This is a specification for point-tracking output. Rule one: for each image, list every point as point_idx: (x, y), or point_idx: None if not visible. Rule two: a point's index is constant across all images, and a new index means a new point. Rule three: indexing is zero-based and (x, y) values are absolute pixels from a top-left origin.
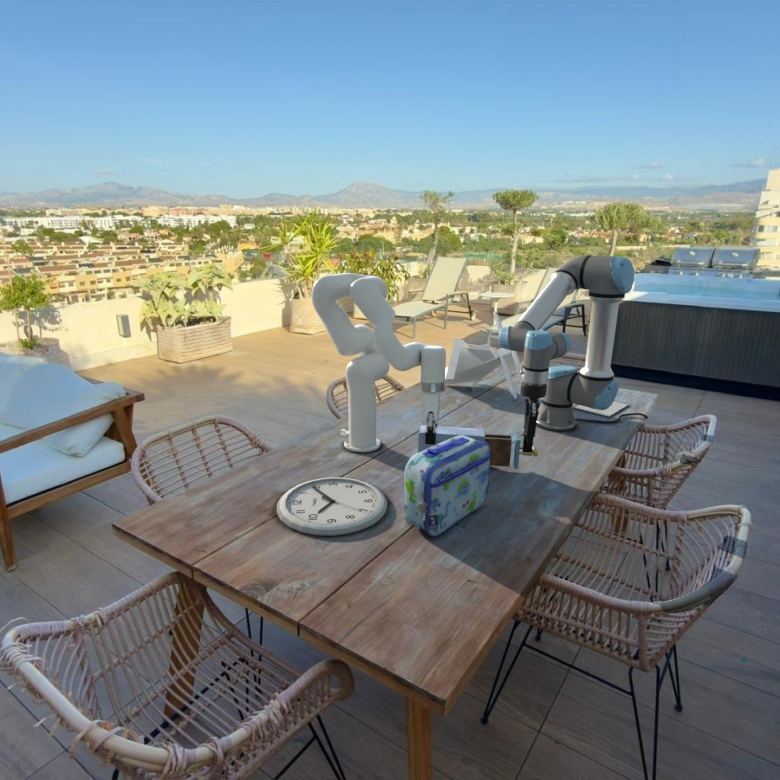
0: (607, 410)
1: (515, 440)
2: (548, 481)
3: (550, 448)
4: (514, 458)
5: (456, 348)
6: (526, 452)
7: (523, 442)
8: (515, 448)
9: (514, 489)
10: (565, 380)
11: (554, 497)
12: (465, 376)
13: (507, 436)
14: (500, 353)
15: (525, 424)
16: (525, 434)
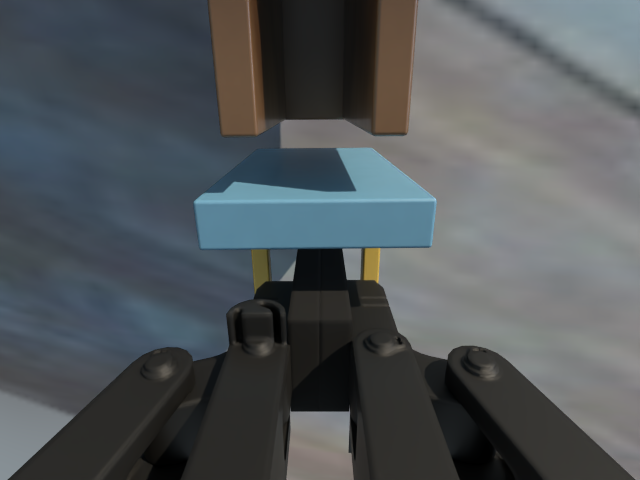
0: None
1: (306, 188)
2: (211, 314)
3: (614, 368)
4: (279, 157)
5: None
6: (261, 263)
7: (330, 268)
8: (252, 174)
9: (47, 132)
10: None
11: (49, 319)
12: None
13: (372, 82)
14: None
15: (384, 452)
16: (246, 347)
